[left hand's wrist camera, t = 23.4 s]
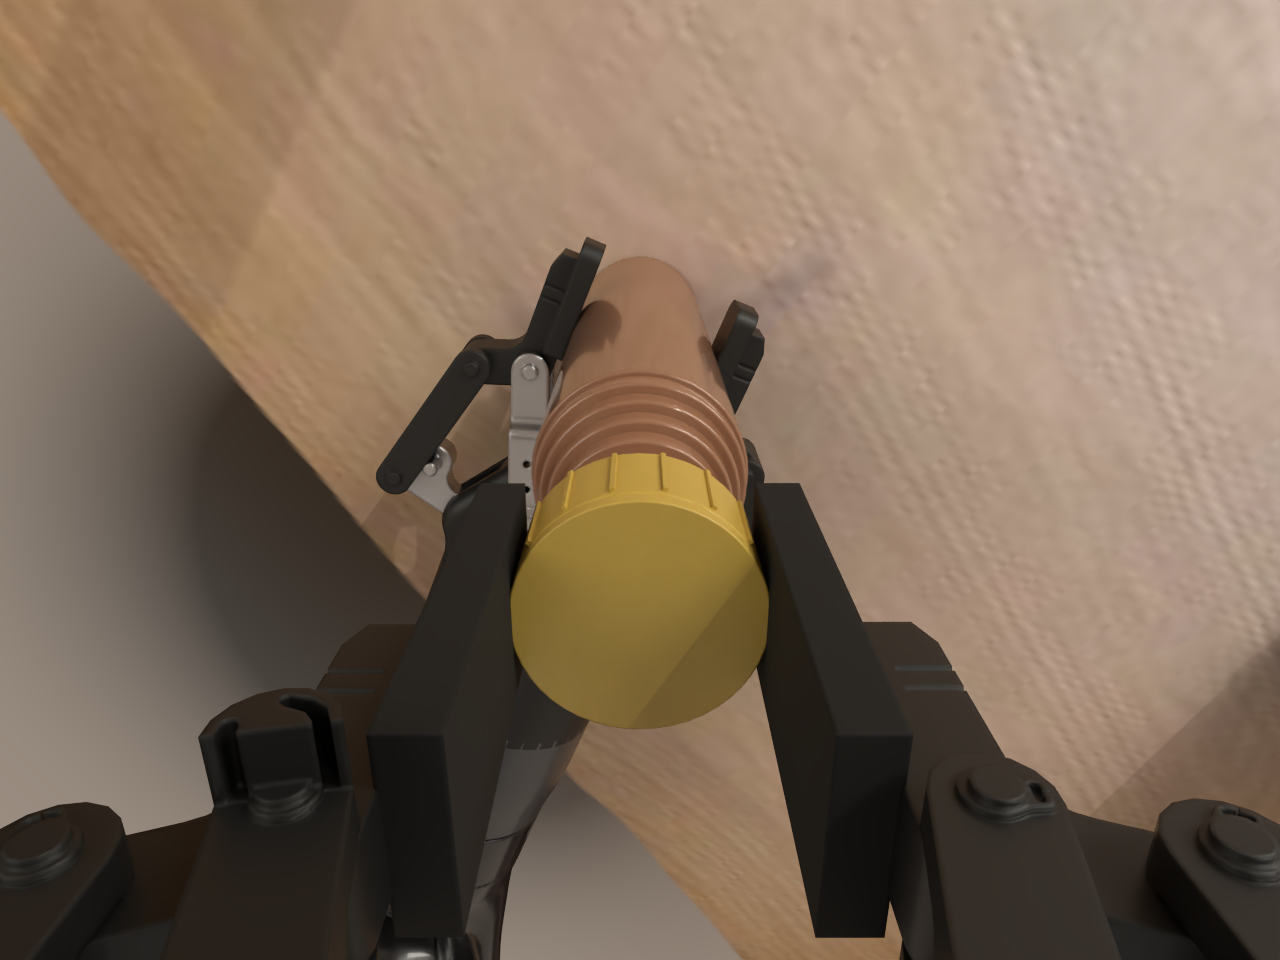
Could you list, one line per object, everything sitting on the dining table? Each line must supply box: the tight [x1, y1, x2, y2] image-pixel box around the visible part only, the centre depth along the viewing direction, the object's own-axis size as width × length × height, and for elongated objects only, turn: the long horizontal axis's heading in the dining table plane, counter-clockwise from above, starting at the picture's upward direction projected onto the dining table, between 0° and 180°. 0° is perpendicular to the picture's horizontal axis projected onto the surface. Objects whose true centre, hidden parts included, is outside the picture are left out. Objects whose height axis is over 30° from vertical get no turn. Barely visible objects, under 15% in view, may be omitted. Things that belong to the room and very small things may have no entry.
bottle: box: [531, 257, 748, 505], centre depth 24 cm, size 5×5×23 cm
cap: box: [510, 452, 769, 729], centre depth 14 cm, size 4×4×2 cm
